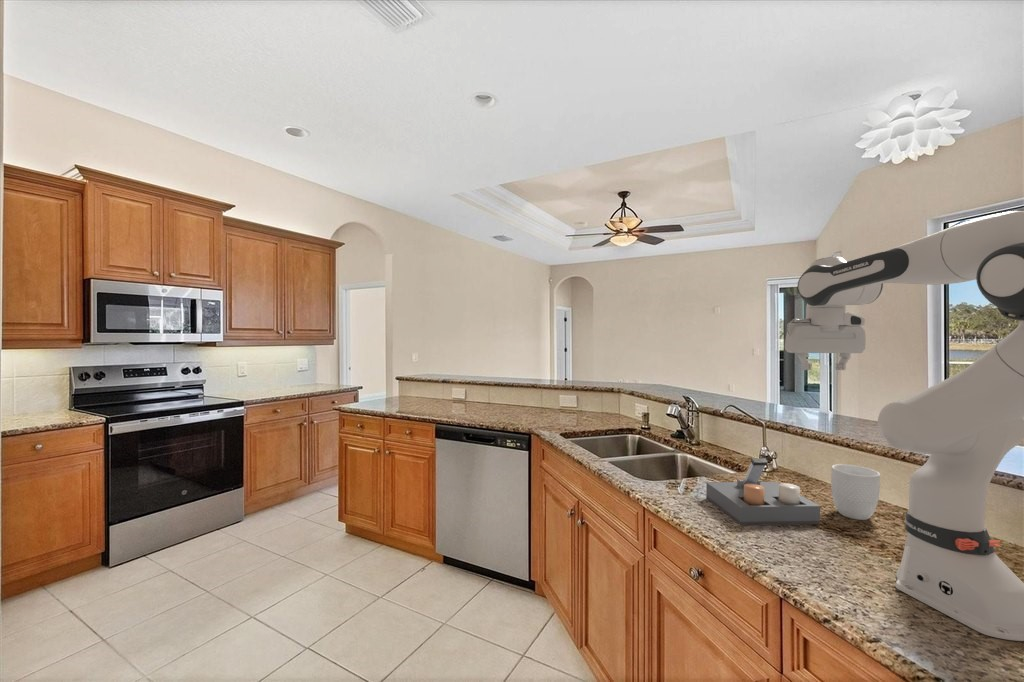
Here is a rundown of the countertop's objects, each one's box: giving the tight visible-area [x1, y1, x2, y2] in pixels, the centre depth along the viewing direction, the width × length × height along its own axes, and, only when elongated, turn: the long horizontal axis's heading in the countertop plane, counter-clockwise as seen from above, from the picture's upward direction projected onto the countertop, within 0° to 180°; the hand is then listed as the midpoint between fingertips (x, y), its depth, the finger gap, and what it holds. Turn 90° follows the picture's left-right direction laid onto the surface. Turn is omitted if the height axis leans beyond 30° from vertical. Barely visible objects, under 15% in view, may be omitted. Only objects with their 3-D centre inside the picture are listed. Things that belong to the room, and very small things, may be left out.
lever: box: [742, 457, 769, 486], centre depth 132 cm, size 2×4×11 cm
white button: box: [778, 482, 801, 505], centre depth 124 cm, size 5×5×5 cm
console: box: [705, 478, 821, 526], centre depth 130 cm, size 19×22×7 cm
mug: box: [830, 463, 881, 521], centre depth 128 cm, size 15×11×13 cm
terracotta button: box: [744, 484, 765, 505], centre depth 124 cm, size 5×5×5 cm
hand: (823, 370), depth 121 cm, fingers open, 8 cm apart
